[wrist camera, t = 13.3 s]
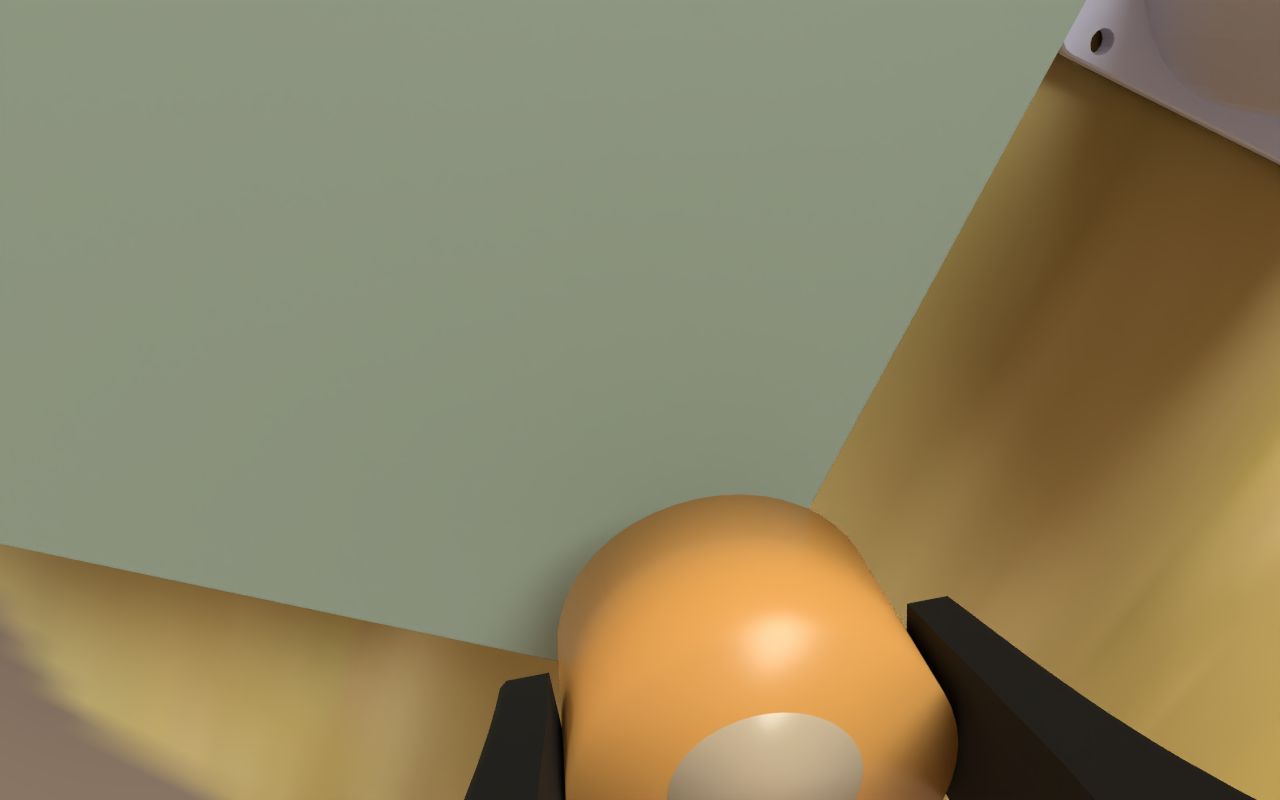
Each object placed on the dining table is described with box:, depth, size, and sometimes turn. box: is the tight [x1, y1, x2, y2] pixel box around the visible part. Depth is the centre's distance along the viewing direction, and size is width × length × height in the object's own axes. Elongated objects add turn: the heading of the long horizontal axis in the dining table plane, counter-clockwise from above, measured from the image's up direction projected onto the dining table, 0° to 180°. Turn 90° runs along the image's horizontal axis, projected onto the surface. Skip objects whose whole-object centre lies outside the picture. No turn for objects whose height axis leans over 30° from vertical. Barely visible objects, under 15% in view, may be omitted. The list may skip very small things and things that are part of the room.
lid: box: [0, 0, 1086, 661], centre depth 13 cm, size 16×14×1 cm
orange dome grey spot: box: [557, 494, 958, 800], centre depth 12 cm, size 5×5×3 cm
